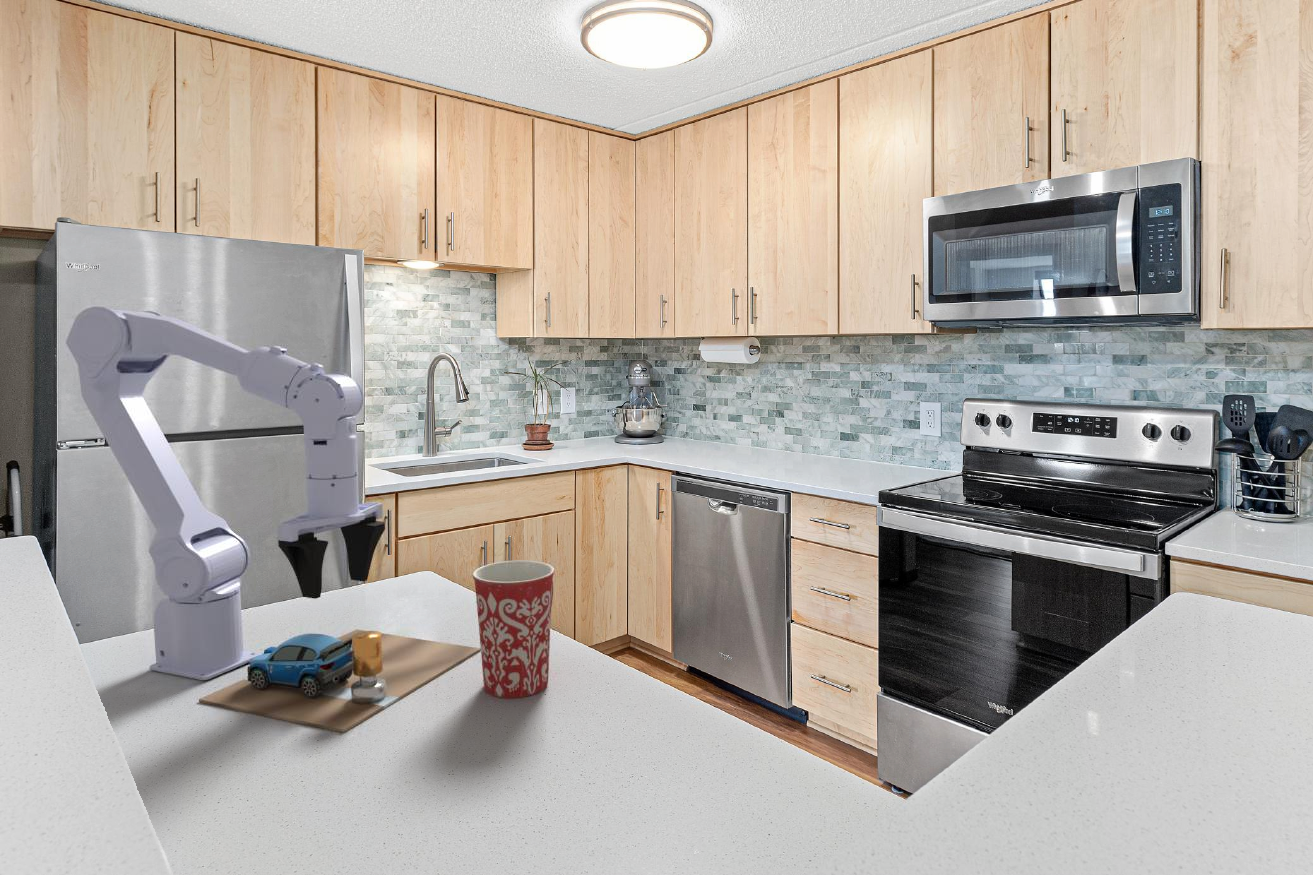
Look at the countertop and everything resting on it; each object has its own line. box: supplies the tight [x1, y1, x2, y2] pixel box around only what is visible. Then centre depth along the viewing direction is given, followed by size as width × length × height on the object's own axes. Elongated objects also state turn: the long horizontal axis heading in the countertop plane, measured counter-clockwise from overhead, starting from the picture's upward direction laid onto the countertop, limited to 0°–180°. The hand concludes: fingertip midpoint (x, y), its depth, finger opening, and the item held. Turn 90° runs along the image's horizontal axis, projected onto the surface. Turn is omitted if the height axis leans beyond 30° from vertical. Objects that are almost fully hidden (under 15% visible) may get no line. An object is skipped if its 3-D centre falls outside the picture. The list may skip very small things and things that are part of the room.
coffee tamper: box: [351, 630, 387, 705], centre depth 86 cm, size 4×4×7 cm
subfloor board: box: [198, 629, 481, 734], centre depth 93 cm, size 20×24×1 cm
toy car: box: [246, 633, 353, 698], centre depth 89 cm, size 6×12×6 cm, turn 73°
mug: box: [472, 560, 556, 699], centre depth 91 cm, size 13×9×14 cm
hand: (336, 588), depth 94 cm, fingers open, 7 cm apart
